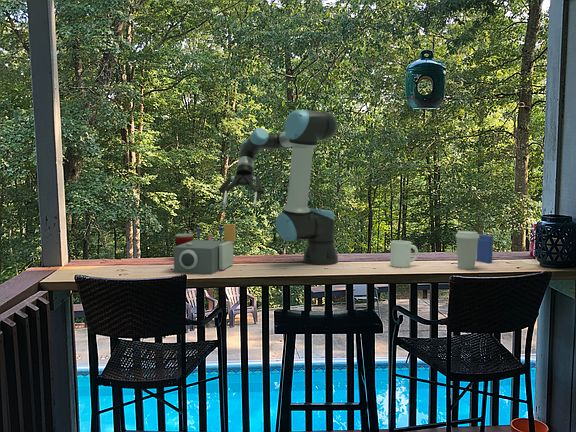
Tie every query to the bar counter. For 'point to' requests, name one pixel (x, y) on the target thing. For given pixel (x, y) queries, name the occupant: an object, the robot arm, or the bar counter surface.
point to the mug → (402, 253)
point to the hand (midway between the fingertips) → (239, 204)
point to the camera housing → (197, 257)
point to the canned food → (183, 238)
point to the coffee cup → (466, 249)
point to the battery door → (227, 246)
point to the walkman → (484, 249)
